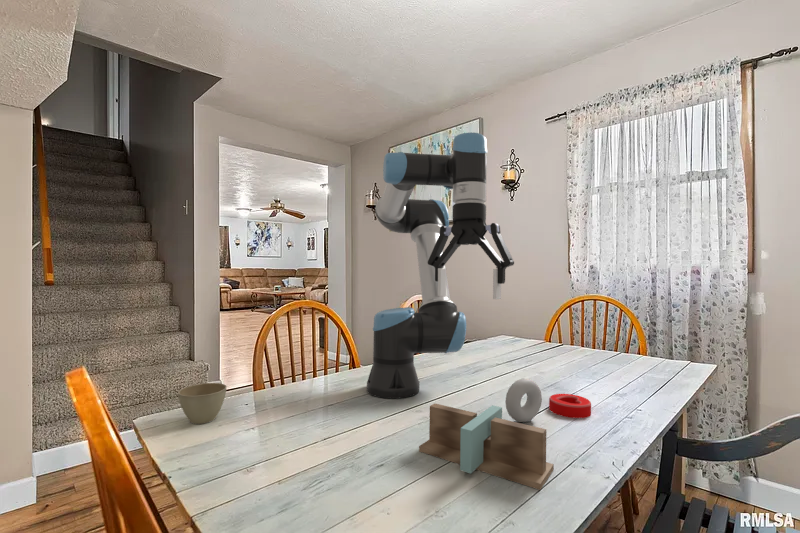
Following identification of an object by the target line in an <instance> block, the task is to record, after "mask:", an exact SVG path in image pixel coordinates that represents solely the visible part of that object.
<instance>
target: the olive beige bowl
mask: <svg viewBox="0 0 800 533" xmlns="http://www.w3.org/2000/svg"><path fill="white" fill-rule="evenodd" d="M226 393H227V384H225V383H221V382H205V383H197V384H193V385H189V386H186V387H183V388H181V389H179V390H178V391H177V395H178V396H177V397H178V400H179V404H180V407H181V409H182V411H183V413H184V414H185V417H186V418H187V420H188V421H189V422H190V423H192V424H194V425H202V424H203V425H204V424H207V423H210V422H212V421H214V420H215V419H216V417H217V416H218V415H219V412H221V409H222V407H223V403H224V402H225V398H226Z"/></svg>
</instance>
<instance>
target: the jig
mask: <svg viewBox="0 0 800 533" xmlns="http://www.w3.org/2000/svg"><path fill="white" fill-rule="evenodd" d="M477 416H478V413H477V412H473V411H470V410H465V409H461V408H457V407H452V406H448V405H443V404H439V403H433V404H430V405H429V427H428V428H429V431H428V432H429V435H428V436H429V438H428V440H426V441H424V442H423V443H421V444H420V445H418V452H420V453H423V454H426V455H429V456H432V457H436V458H438V459H442V460H445V461H449V462H451V463H454V464H458V465H460V440H461V427H463V426H464V425H465V424H467V423H468V422H470V421H471V420H472V419H474V418H475V417H477ZM475 470H477V471H480V472H482V473H483V472H484V473H486V474H489V475H492V476H495V477H498V478H501V479H504V480H508V481H511V482H514V483H518V484H521V485H523V486H527V487H530V488H533V489H536V490H539V491H541V490H542V489H543V487H544V485H545V484H546V483H547V481H548V479H549V478H550V477H551V475H552V474H553V472H554V470H555V467H554V463H551V462H547V429H545V428H543V427H537V426H535V425H534V426H533V425H530V424H525V423H522V422H518V421H512V420H508V419H504V418H502V419H500V418H496V417H495V418H494V419H492V420H491V435H490V436H489V437H488V438H486V439H485V440H484V444H483V463H482V464H480V465H479V466H478V467H477V468H476V469H475Z"/></svg>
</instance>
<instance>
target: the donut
mask: <svg viewBox="0 0 800 533" xmlns="http://www.w3.org/2000/svg"><path fill="white" fill-rule="evenodd" d="M524 395H526V401H525V403H524V405H522V404H521V402H522V398H523V396H524ZM542 402H543V396H542V390H541V388H540V386H539V385H538V384H537V383H536V382H535V381H534V380H532V379H531V378H525V377H524V378H521V379H517V380H515V381H514V382H513V383H512V384H511V385H510V386H509V388H508V390H507V392H506V396H505V408H506V412H507V413H508V415H509V417H511V419H512V420H514V421H515V422H517V423H527V422H530V421H532V420H533V419H534V418H535V417H536V416H537V414H538V413H539V412H540V409H541V407H542Z"/></svg>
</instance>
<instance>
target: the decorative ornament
mask: <svg viewBox="0 0 800 533" xmlns="http://www.w3.org/2000/svg"><path fill="white" fill-rule="evenodd" d="M548 404H549V405H548V409H549V411H550V412H552V413H553V414H555V415H558V416H562V417H565V418H570V419H571V418H573V419H586V418H589V417H590V416H592V403H591V401H590V399H588V398H586V397H585V396H582V395H581V396H580V395H576V394H572V393H556V394H552V395H550V397H549V399H548Z"/></svg>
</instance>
